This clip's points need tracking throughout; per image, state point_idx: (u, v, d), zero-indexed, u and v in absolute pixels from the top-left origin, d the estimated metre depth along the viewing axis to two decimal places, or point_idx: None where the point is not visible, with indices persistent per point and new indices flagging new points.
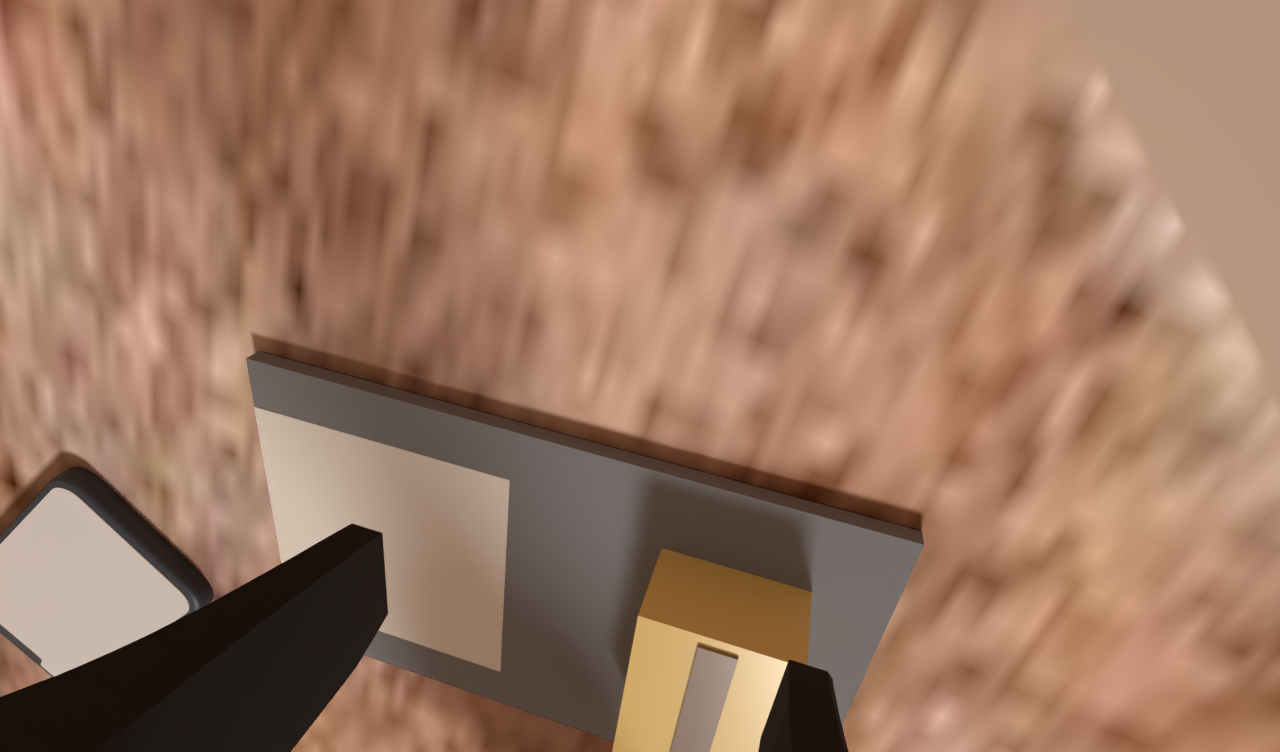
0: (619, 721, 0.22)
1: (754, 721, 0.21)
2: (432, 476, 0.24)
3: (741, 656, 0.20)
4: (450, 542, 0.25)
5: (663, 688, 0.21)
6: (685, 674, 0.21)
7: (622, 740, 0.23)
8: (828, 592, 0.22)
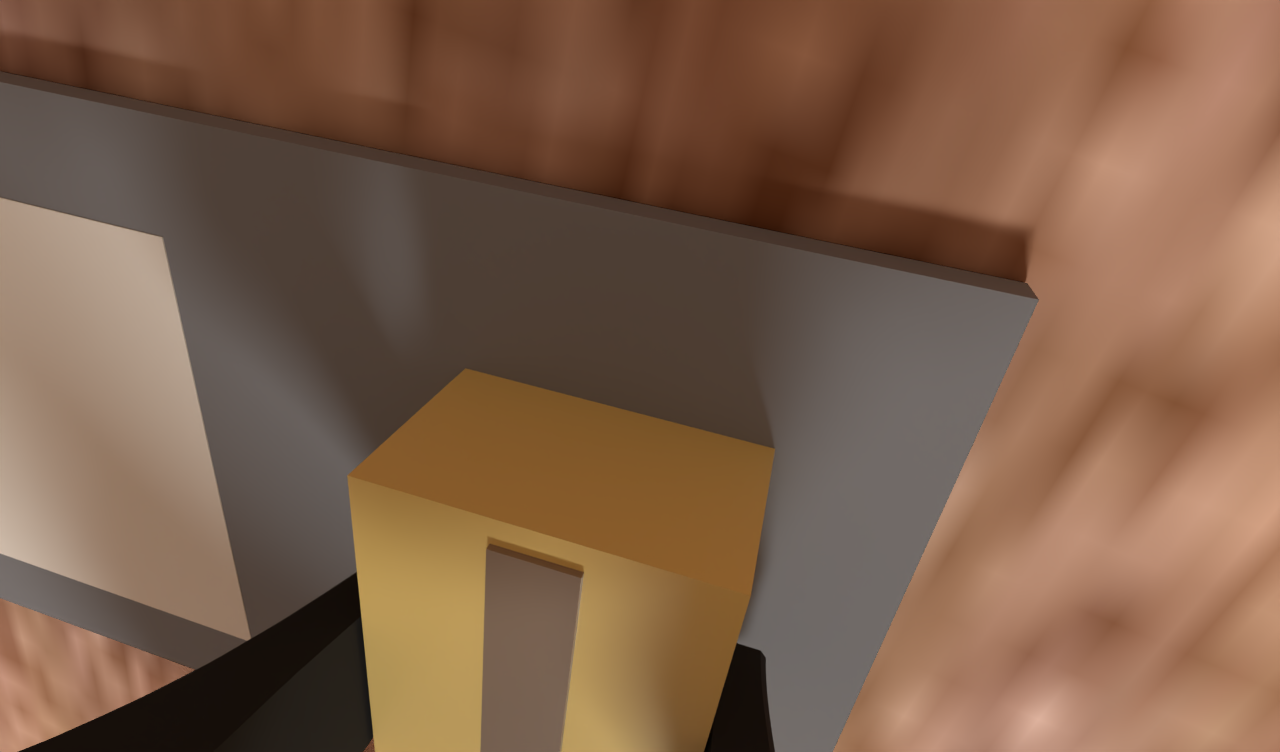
0: (375, 729, 0.11)
1: (640, 730, 0.09)
2: (35, 247, 0.12)
3: (590, 569, 0.08)
4: (107, 393, 0.13)
5: (439, 657, 0.09)
6: (477, 622, 0.09)
7: None
8: (810, 447, 0.10)
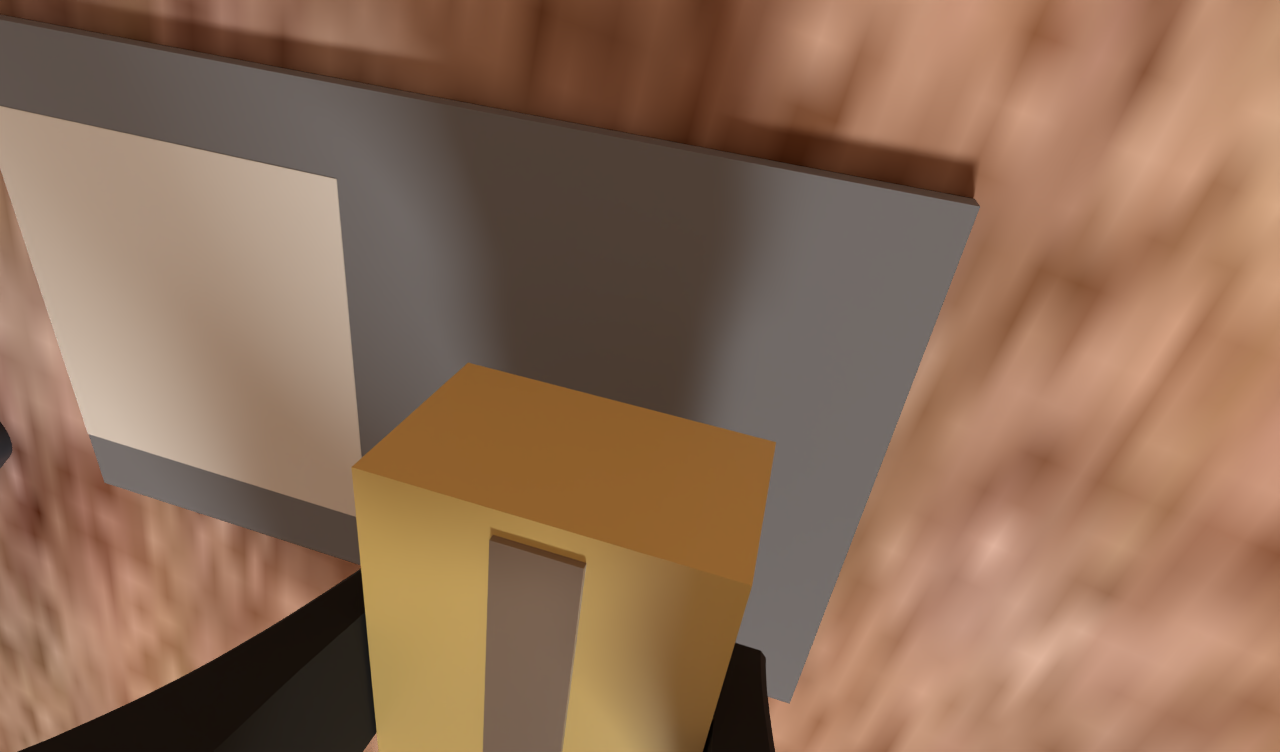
0: (378, 721, 0.11)
1: (641, 721, 0.09)
2: (230, 189, 0.16)
3: (592, 560, 0.08)
4: (272, 307, 0.17)
5: (442, 648, 0.09)
6: (479, 613, 0.09)
7: None
8: (822, 324, 0.14)
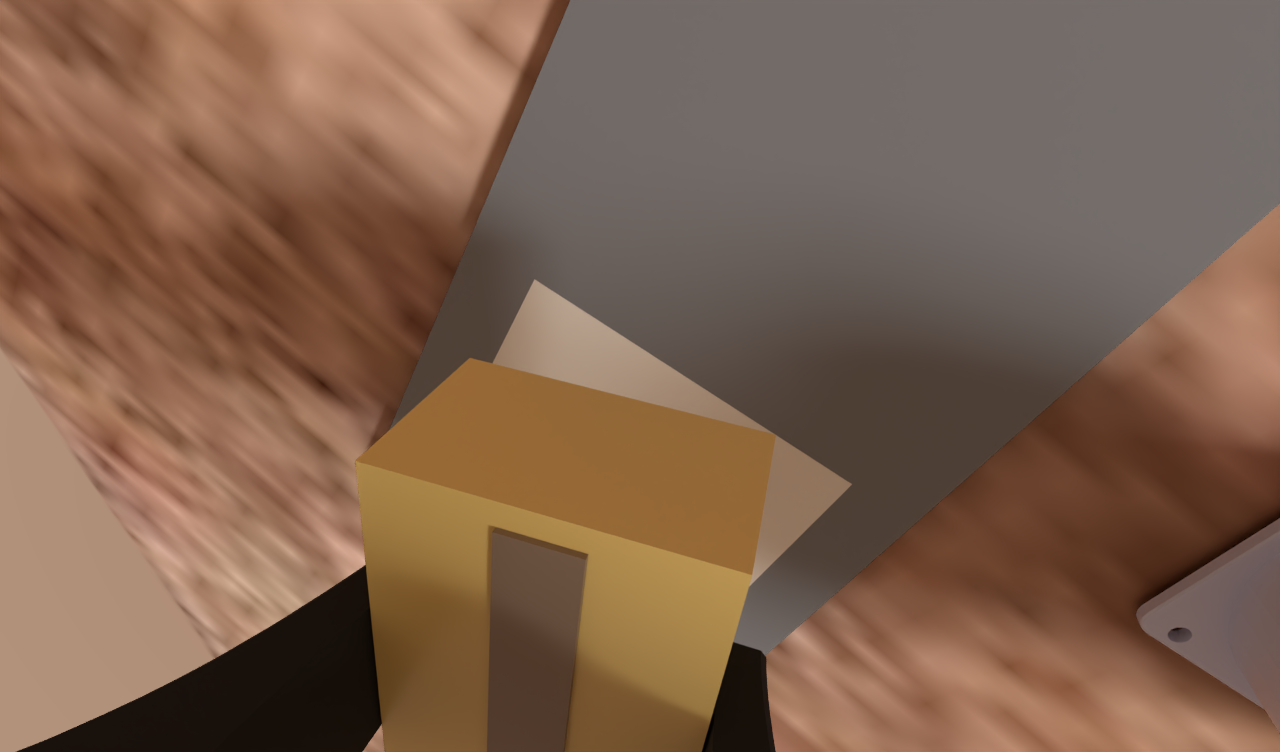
0: (383, 714, 0.11)
1: (643, 711, 0.09)
2: None
3: (594, 551, 0.08)
4: None
5: (446, 640, 0.10)
6: (483, 605, 0.09)
7: None
8: None
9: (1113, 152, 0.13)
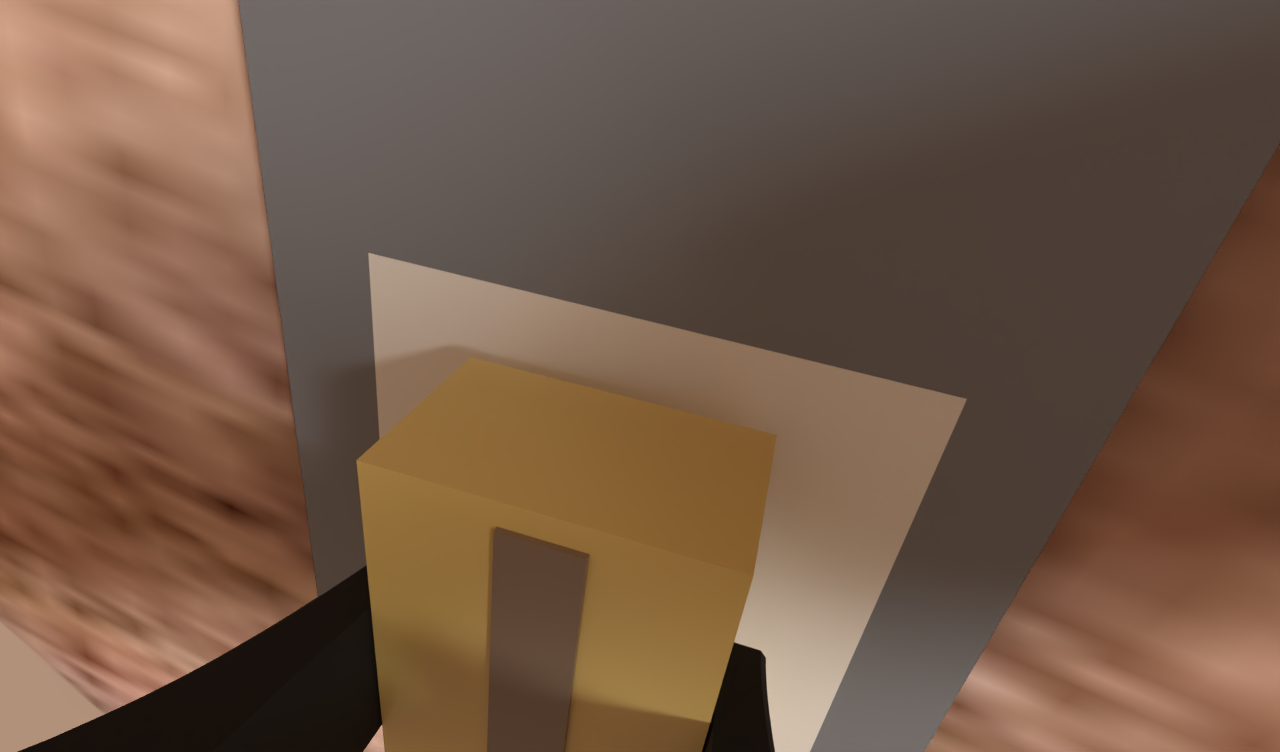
0: (383, 712, 0.11)
1: (644, 711, 0.09)
2: (414, 405, 0.13)
3: (595, 551, 0.08)
4: None
5: (447, 640, 0.10)
6: (484, 604, 0.09)
7: None
8: None
9: None
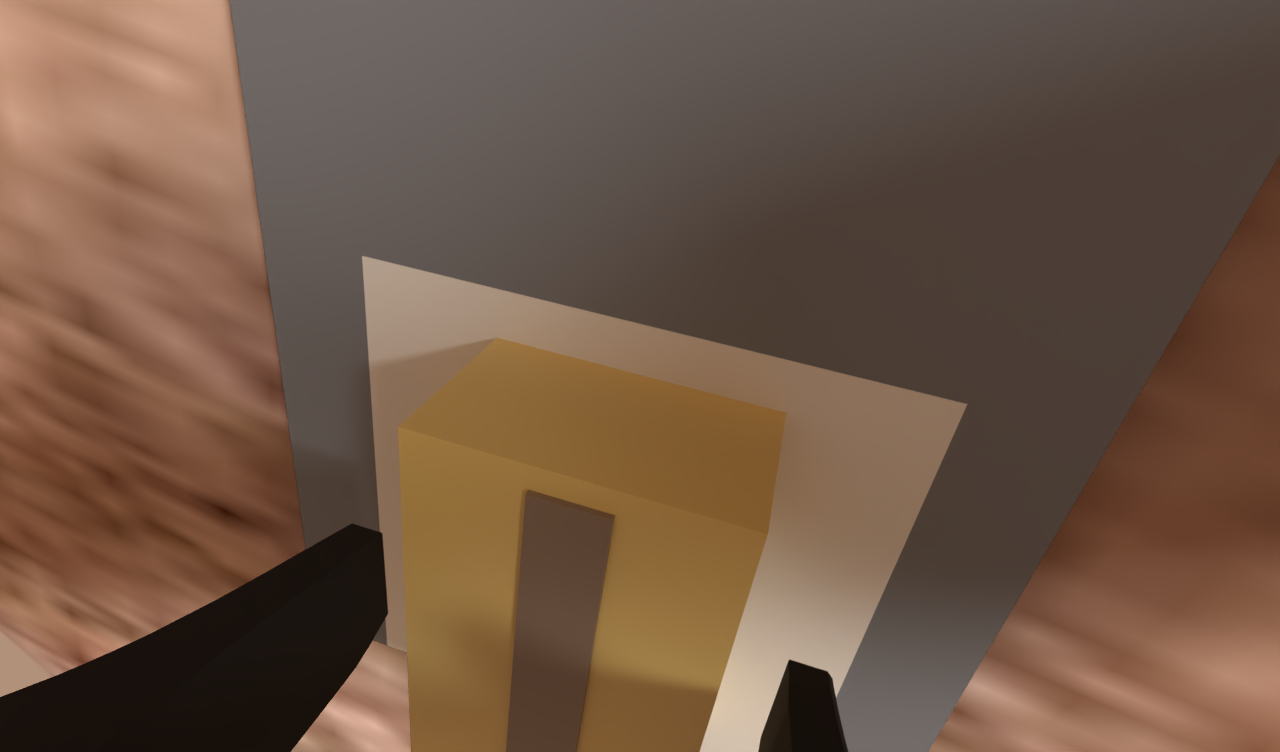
0: (410, 673, 0.12)
1: (661, 667, 0.10)
2: (408, 409, 0.13)
3: (620, 512, 0.09)
4: None
5: (476, 601, 0.10)
6: (512, 565, 0.10)
7: (423, 712, 0.12)
8: None
9: None
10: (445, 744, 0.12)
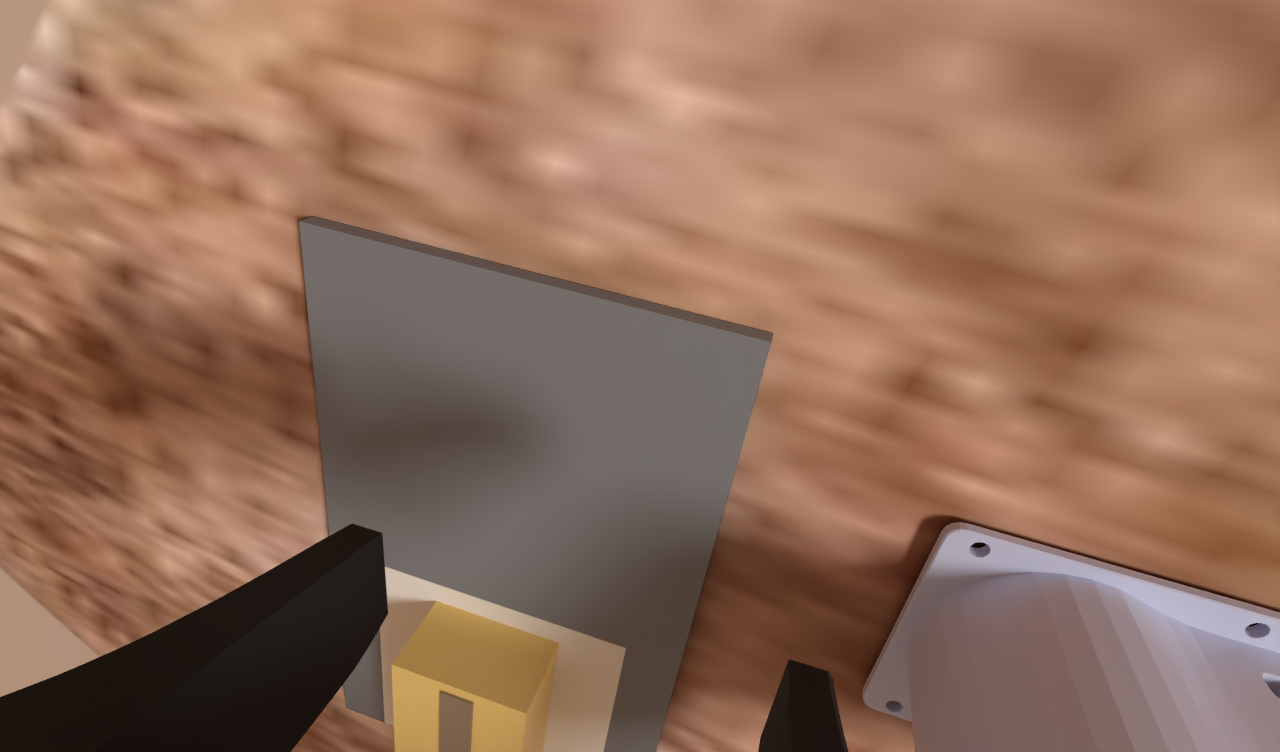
0: (396, 751, 0.26)
1: None
2: (397, 622, 0.27)
3: (475, 701, 0.23)
4: None
5: (423, 725, 0.24)
6: (437, 714, 0.24)
7: None
8: (387, 307, 0.20)
9: (638, 426, 0.20)
10: None
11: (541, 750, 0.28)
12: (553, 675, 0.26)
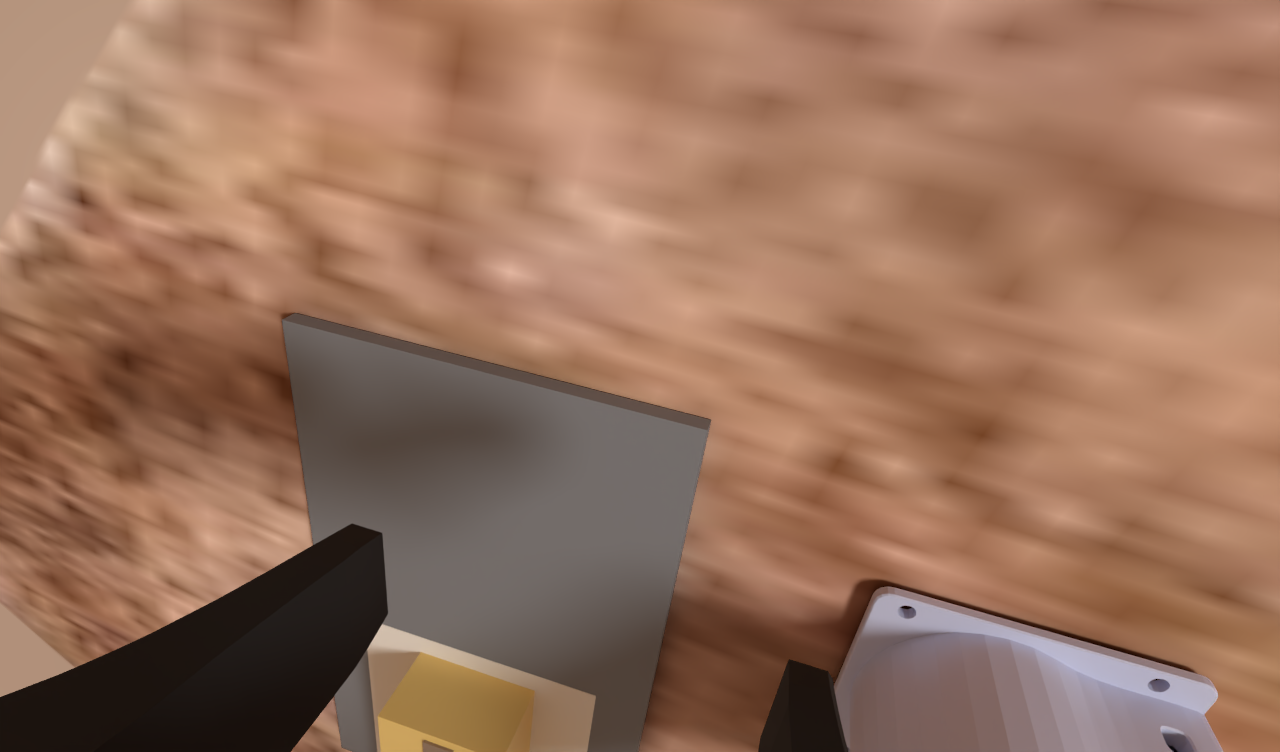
0: None
1: None
2: (385, 670, 0.29)
3: (455, 749, 0.25)
4: None
5: None
6: None
7: None
8: (364, 395, 0.22)
9: (594, 500, 0.22)
10: None
11: None
12: (531, 720, 0.28)
